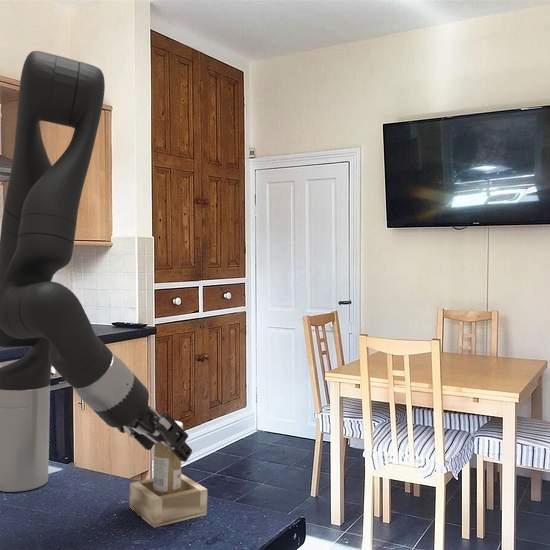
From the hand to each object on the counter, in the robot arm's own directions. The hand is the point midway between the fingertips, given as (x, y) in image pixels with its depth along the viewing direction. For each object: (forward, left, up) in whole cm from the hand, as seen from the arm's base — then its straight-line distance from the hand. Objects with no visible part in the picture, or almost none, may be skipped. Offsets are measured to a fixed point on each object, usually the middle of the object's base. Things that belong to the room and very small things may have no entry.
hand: (169, 450), depth 98 cm
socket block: (0, 0, -10) cm, 10 cm away
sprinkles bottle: (0, 0, -9) cm, 9 cm away
